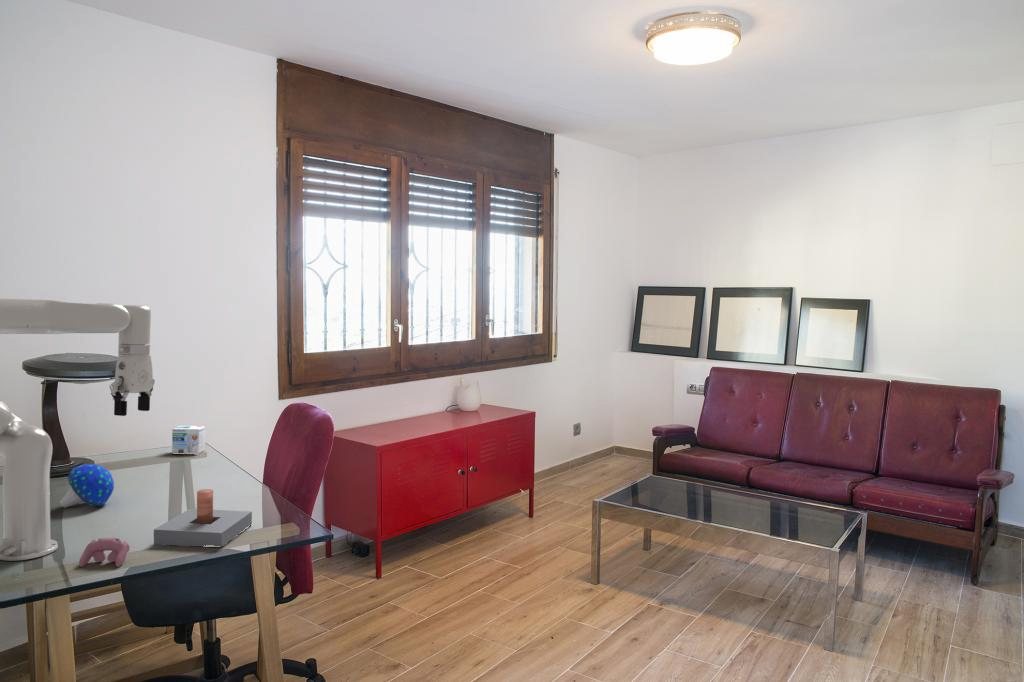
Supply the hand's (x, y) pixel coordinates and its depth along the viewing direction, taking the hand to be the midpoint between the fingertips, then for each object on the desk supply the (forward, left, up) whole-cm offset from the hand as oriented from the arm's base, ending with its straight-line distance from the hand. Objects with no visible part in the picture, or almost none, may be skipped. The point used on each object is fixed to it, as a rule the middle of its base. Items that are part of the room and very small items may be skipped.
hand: (132, 412), depth 189 cm
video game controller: (-25, -8, -32) cm, 41 cm away
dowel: (-2, -22, -32) cm, 39 cm away
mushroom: (+17, +24, -32) cm, 44 cm away
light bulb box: (+87, +31, -32) cm, 98 cm away
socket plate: (-2, -22, -32) cm, 39 cm away
